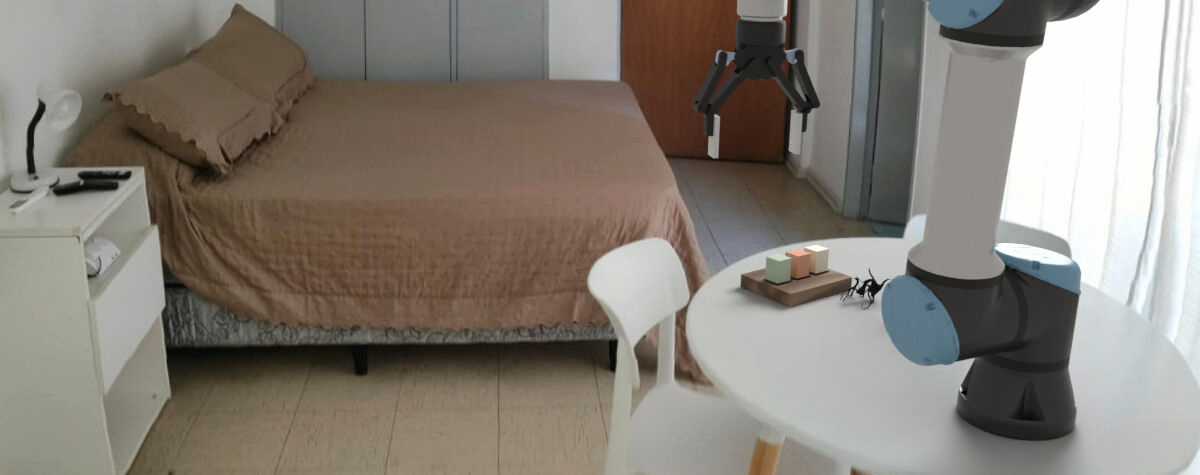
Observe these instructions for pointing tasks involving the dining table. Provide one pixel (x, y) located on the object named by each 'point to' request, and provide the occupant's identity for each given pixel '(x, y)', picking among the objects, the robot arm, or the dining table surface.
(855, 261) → the dining table surface
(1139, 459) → the dining table surface
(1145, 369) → the dining table surface
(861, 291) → the creature
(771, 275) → the button sage
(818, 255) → the button cream
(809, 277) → the panel
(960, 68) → the robot arm
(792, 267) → the button terracotta
